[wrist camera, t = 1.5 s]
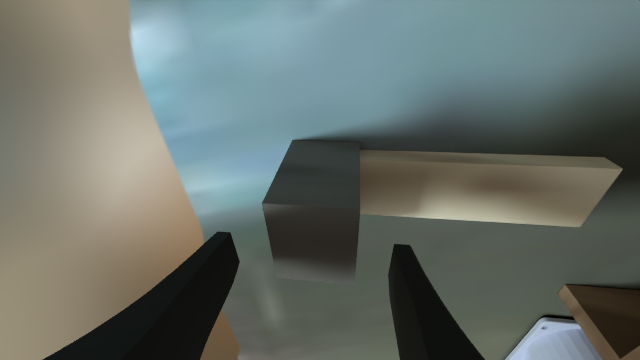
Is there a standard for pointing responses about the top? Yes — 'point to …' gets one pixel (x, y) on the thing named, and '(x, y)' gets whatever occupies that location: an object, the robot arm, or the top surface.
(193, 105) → the top surface
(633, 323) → the walnut bench
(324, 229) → the ash handle hammer
